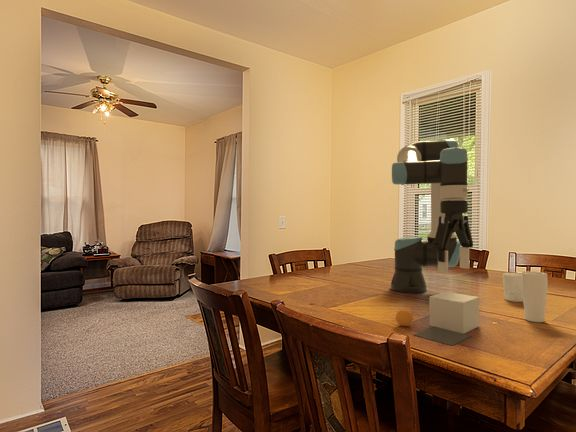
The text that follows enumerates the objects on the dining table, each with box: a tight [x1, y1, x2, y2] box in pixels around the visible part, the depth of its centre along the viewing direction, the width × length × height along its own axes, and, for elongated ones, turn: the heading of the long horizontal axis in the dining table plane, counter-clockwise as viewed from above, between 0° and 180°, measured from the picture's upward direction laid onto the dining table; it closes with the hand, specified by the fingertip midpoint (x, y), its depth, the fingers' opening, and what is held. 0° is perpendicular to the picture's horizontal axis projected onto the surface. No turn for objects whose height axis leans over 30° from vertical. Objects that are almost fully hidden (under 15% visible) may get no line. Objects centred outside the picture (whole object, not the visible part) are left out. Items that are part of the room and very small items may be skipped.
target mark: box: [413, 326, 472, 346], centre depth 103 cm, size 11×11×1 cm
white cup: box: [502, 272, 523, 303], centre depth 143 cm, size 8×8×10 cm
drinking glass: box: [521, 270, 548, 323], centre depth 116 cm, size 7×7×15 cm
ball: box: [395, 308, 414, 327], centre depth 112 cm, size 5×5×5 cm
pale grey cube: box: [428, 291, 480, 334], centre depth 111 cm, size 10×10×9 cm
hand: (454, 270), depth 111 cm, fingers open, 13 cm apart
